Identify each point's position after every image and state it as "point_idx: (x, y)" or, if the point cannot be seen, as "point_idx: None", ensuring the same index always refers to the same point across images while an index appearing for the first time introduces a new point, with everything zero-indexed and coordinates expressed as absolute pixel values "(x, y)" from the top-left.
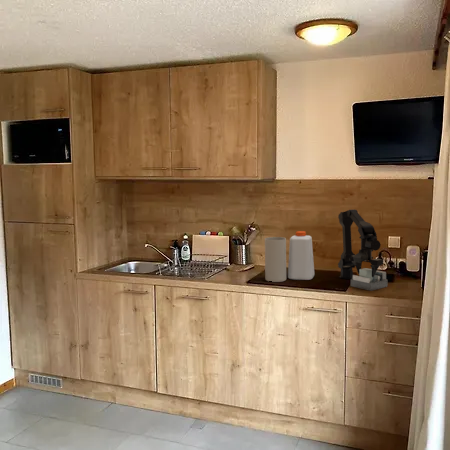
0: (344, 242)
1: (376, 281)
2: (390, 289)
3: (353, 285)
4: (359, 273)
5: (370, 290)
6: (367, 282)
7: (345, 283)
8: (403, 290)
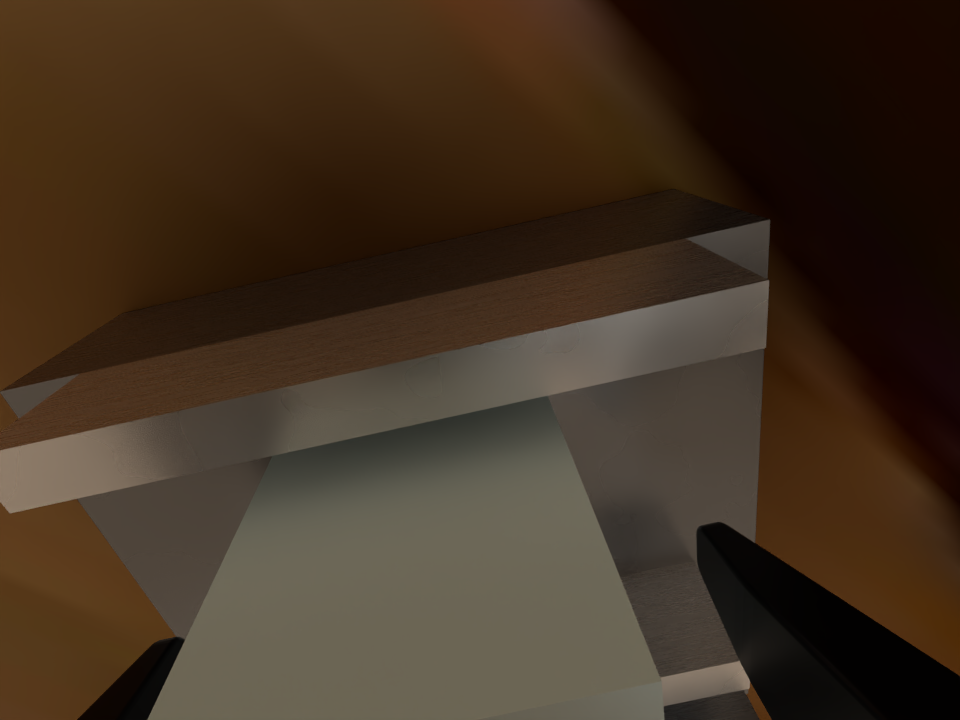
0: None
1: (199, 598)
2: (136, 617)
3: (598, 211)
4: (579, 501)
5: (135, 312)
6: (123, 366)
7: (899, 243)
8: (29, 708)
